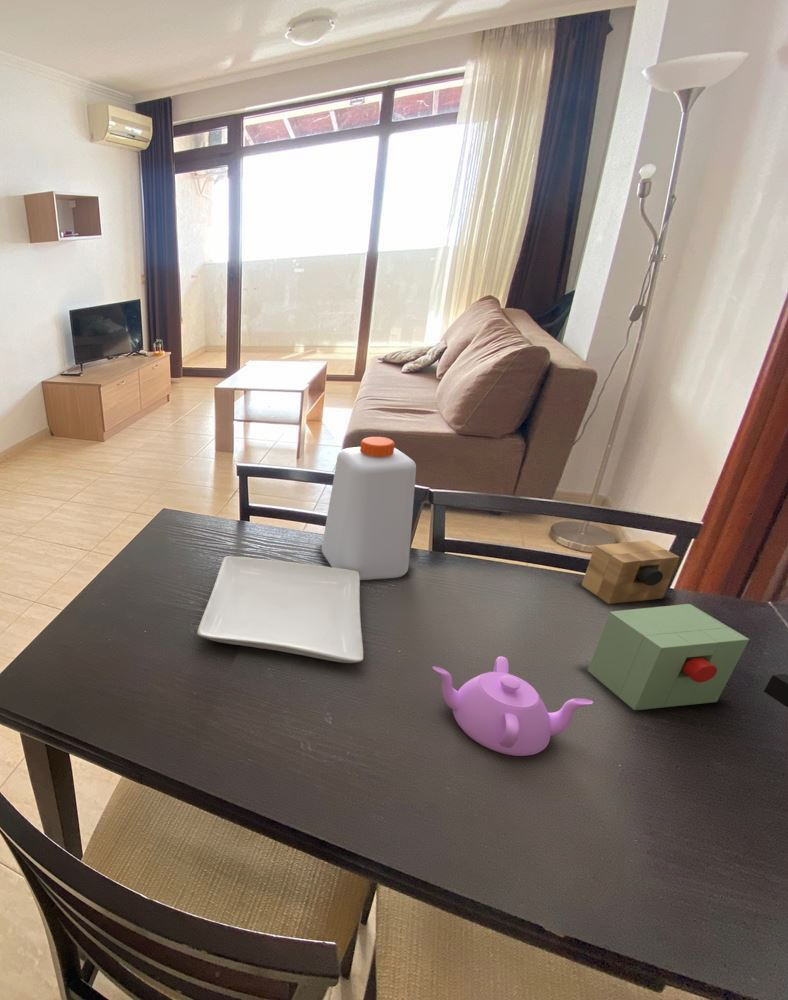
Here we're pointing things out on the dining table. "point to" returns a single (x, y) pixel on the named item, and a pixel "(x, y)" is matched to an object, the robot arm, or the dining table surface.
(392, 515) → the plastic bottle
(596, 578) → the wooden button box
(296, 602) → the square plate
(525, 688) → the teapot
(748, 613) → the dining table surface
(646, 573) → the black button
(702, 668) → the red button
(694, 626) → the green box
